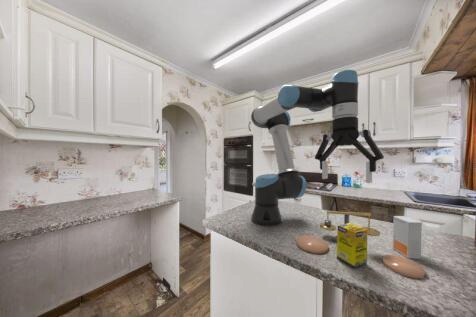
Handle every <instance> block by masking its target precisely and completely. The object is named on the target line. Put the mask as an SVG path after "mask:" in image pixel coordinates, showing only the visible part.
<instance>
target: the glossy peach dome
mask: <svg viewBox="0 0 476 317" xmlns="http://www.w3.org/2000/svg"><path fill="white" fill-rule="evenodd" d="M382 264H383V265H384V266H385V267H386V268H388V269H389V270H390V271H391V272H393V273H396V274H399V275H401V276H404V277H407V278H412V279H424V278H425V276H426V269H425V268H424V267H423V266H422V265H421V264H420V263H417V262H415V261H414V260H411V259H410V258H407V257H405V256H404V257H403V256H400V255H394V254H386V255H384V256H382Z"/></svg>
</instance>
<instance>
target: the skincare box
mask: <svg viewBox="0 0 476 317" xmlns="http://www.w3.org/2000/svg"><path fill="white" fill-rule="evenodd" d="M392 222H393V223H392V224H393V227H392V228H393V229H392V249H393V250H395V251H396V252H397V253H399V254H401V255H402V256H404V258H407V259H413V260H414V259H418V260H421V258H422V230H423V229H422V228H423V226H422V225H423V223H422V222H421V221H419V220H416V219H413V218H411V217H408V216H405V215H393V221H392Z"/></svg>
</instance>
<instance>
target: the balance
mask: <svg viewBox="0 0 476 317" xmlns="http://www.w3.org/2000/svg"><path fill="white" fill-rule="evenodd" d="M326 214H327V219H325V220H324V222H322V223H320V224H319V228H321V229H322V230H325V231H337V226H336V225H334V224H332V221H331V220H330V219H329V216H330V215H329V214H331V215H344V218H343V219H344V223H343V224H347V223H350V216H362V217H364V216H365V217H368V220H367V221H368V226H361V227H362V228H365V229H367V230H368V231H367V236H371V237H379V236H380V235H381V232H380V231H379V230H378V229H376V228H373V227H370V226H371V224H370V223H371V222H370V221H371V216H372V213H370V212H353V211H337V210H335V211H334V210H327V211H326ZM331 241H332V242H334V243H336V244H337V235H336V236H334V237H333V238H331Z"/></svg>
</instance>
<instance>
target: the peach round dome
mask: <svg viewBox="0 0 476 317" xmlns="http://www.w3.org/2000/svg"><path fill="white" fill-rule="evenodd" d="M295 244H296V246H297V247H298V248H299V249H301V250H302V251H304V252H307V253H311V254H318V255H319V254H326V253H327V252H328V251H329V246H330V245H329V243H328V242H327V241H326V239H325V240H324V239H323V238H321V237H319V236H315V235H309V234H308V235H307V234H304V235H299V236H297V237H296V240H295Z"/></svg>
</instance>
